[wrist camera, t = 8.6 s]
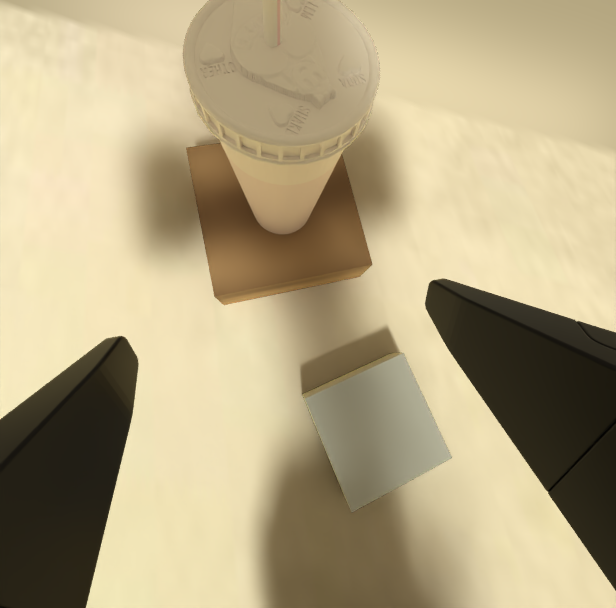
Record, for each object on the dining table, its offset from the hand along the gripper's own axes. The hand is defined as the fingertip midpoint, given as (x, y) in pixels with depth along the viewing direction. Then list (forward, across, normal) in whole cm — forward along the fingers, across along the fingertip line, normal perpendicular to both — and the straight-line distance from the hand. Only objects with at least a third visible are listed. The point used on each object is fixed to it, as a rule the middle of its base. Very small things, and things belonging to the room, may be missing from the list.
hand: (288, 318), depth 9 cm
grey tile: (+4, -5, +13) cm, 14 cm away
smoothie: (+12, -1, +1) cm, 12 cm away
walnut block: (+14, -1, +2) cm, 14 cm away
